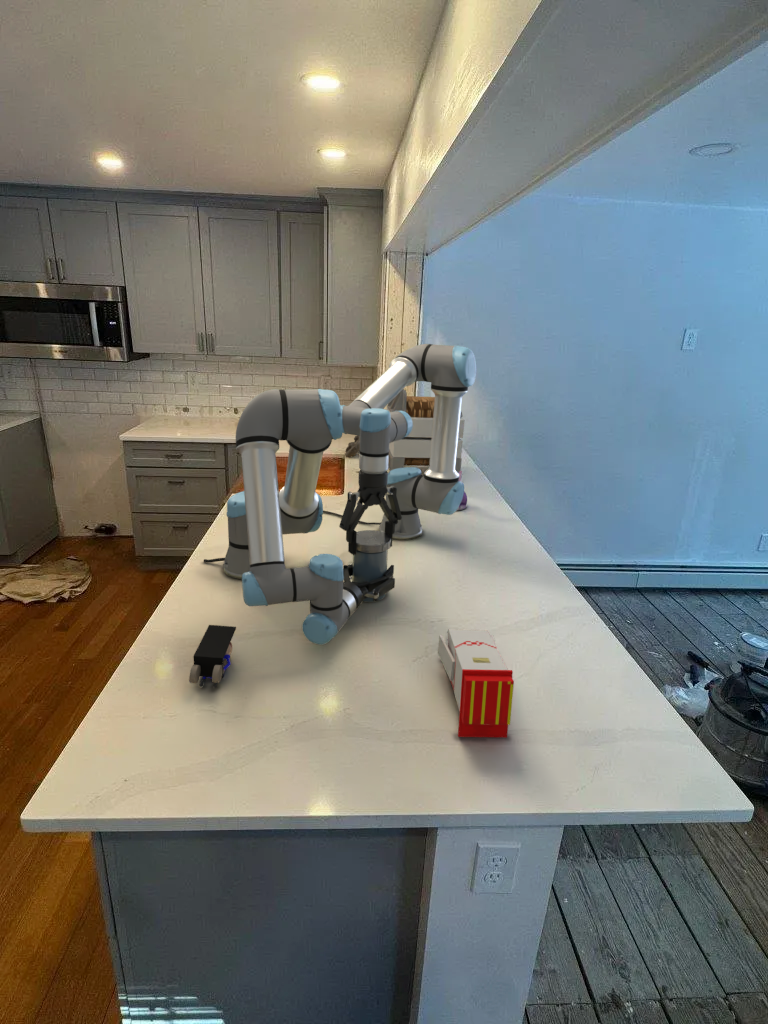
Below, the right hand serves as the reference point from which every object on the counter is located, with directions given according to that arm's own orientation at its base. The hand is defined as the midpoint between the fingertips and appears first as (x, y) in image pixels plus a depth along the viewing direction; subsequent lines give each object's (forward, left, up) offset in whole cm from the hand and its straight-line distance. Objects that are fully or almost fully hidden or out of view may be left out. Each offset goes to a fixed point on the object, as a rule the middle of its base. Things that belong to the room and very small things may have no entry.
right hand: (370, 548), depth 153 cm
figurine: (-36, +75, -13) cm, 84 cm away
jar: (0, 0, -13) cm, 13 cm away
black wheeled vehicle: (+8, -49, -14) cm, 51 cm away
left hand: (-2, +4, -7) cm, 8 cm away
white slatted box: (-81, +98, -13) cm, 127 cm away
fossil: (-127, +95, -13) cm, 159 cm away
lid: (0, 0, +3) cm, 3 cm away
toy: (+46, -10, -13) cm, 49 cm away
